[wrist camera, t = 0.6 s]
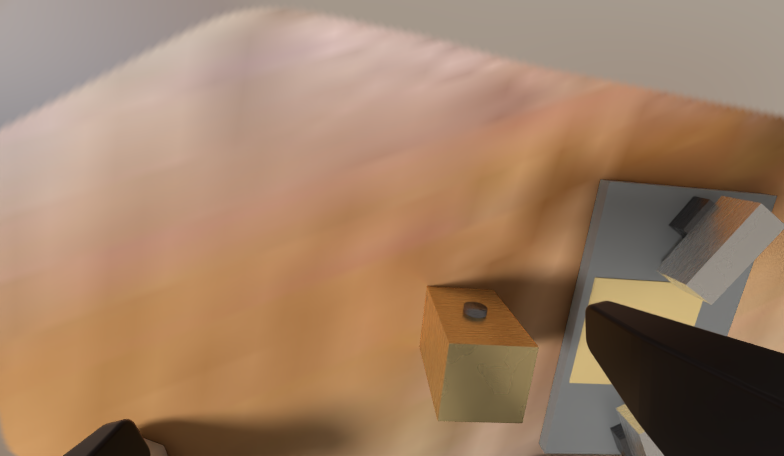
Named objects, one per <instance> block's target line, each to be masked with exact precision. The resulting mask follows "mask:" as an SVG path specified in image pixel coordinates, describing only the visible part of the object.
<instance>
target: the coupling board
mask: <svg viewBox="0 0 784 456" xmlns="http://www.w3.org/2000/svg"><path fill="white" fill-rule="evenodd" d="M693 196H695V197H700V198H705V199H710V200H711V201H712V202H714V203H716V202H717V201H718V200H719V199H720V197H721V196H725V197H731V198H736V199H741V200H747V201H752V202H757V203H762V204H763V205H764V206H765V207H766V208H767V209H768V210H769V211H770V212H772V209H773V206H774V204H775V201H776V198H777V196H774V195H768V194H762V193H750V192H739V191H727V190H716V189H704V188H693V187H681V186H670V185H658V184H647V183H635V182H624V181H612V180H600V184H599V188H598V192H597V197H596V201H595V205H594V210H593V214H592V218H591V222H590V227H589V231H588V235H587V240H586V244H585V248H584V252H583V257H582V261H581V265H580V270H579V274H578V278H577V282H576V287H575V291H574V295H573V300H572V304H571V308H570V312H569V317H568V321H567V325H566V330H565V334H564V338H563V342H562V347H561V351H560V355H559V360H558V364H557V368H556V372H555V377H554V381H553V385H552V390H551V394H550V398H549V402H548V407H547V411H546V415H545V420H544V424H543V428H542V432H541V437H540V441H539V444H540V446H541V448H542V450H543V452H544V453H552V454H617V455H622V454H621V453H620V452H619V451H618V449H617V446H616V444H615V441H614V438H613V435H612V433H611V430H610V428H611V427H613V426H615V425H618V424H620V423H621V422H620V419H619V416H618V414H617V411H616V408H617V407H619V406H622V405H624V404H625V403H624V402H623V400H622V399H621V397H620V396H619V394H618V393H617V391H616V390H615V388H614V387H613V385H612V384H611V382H610V381H609V379H608V378H607V376H606V375H605V373H604V372H603V370H602V369H601V367H600V366H599V364H598V363H597V361H596V360H595V358H594V356H593V355H592V353H591V352H590V350H589V348H588V346H587V342H586V327H585V310H586V307H587V306H588V305H590V304H594V303H598V302H602V301H612V302H615V303H618V304H621V305H625V306H628V307H631V308H635V309H638V310H641V311H645V312H648V313H651V314H655V315H658V316H661V317H664V318H668V319H671V320H674V321H678V322H681V323H684V324H688V325H691V326H694V327H698V328H701V329H704V330H708V331H711V332H714V333H717V334H721V335H724V336H727V335H728V332H729V329H730V327H731V324H732V321H733V318H734V315H735V313H736V310H737V307H738V304H739V301H740V299H741V296H742V293H743V290H744V287H745V285H746V282H747V279H748V276H749V273H750V271H751V268H752V265H753V262H754V261H753V262H752V263H751V264H750V265H749V266H748V267H747V268H746V269H745V270H744V272H743V273H742V274H741V275H740V276H739V277H738V278H737V279H736V280H735V281H734V282H733V283H732V284H731V285H730V286H729V287H728V288H727V289H726V290H725V292H724V293H723V294H722V295H721V296H720V297H719V298H718V299H717V300H716V301H715V302H714V303H713V304H712V305H711V304H709V303H707V302H705V301H703V300H701V299H699V298H697V297H695V296H693V295H691V294H689V293H687V292H685V291H683V290H681V289H679V288H678V287H677V286H675V285H674V284H673V283H671V282H670V281H669V280H668V279H666V278H665V277H664V276H662V275H661V274H660V273H659V272H657V271H656V269H657V268H658V267H659V266H660V264H661V263H662V262H663V261H664V260H665V259H666V258H667V257H668V256H669V254H670V253H671V252H672V251H673V250H674V249H675V248H676V247H677V245H678V244H679V243H680V242H681V241H682V240H683V239H684V238H683V237H682V236H681V235H680V234H678V233H677V232H676V231H675V230H673V229H672V228H671V227H670V226H669V224H670V223H671V221H672V220H673V219H674V218H675V217H676V216H677V215H678V214H679V212H680V211H681V210H682V209H683V208H684V207H685V206H686V204H687V203H688V202H689V201H690V200H691V199H692V198H693Z"/></svg>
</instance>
